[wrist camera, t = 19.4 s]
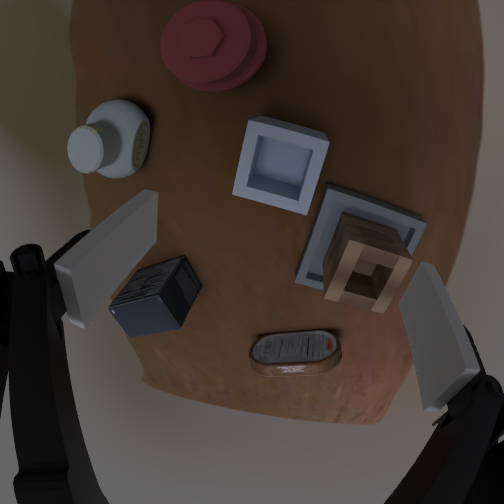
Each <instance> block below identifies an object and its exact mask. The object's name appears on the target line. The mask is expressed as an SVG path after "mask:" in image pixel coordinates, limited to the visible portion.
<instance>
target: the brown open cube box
mask: <svg viewBox="0 0 504 504" xmlns="http://www.w3.org/2000/svg"><path fill="white" fill-rule="evenodd" d="M412 262H413V259H412V257H411V255H410V253H409V251H408V249H407V248H406V246H405V244H404V242H403V240H402V239H401V237H400V235H399V233H398V231H397V230H396V229H393V228H390V227H387V226H385V225H382V224H379V223H376V222H373V221H370V220H367V219H364V218H361V217H358V216H355V215H352V214H349V213H346V212H343V211H342V214H341V216H340V219H339V222H338V224H337V227H336V230H335V232H334V235H333V237H332V240H331V243H330V245H329V248H328V250H327V253H326V255H325V258H324V260H323V263H322V265H323V290H324V299H328V300H332V301H336V302H339V303H343V304H347V305H351V306H354V307H358V308H362V309H366V310H370V311H374V312H377V313H381V314H383V313H384V312H385V310H386V308H387V307H388V305H389V303H390V302H391V300H392V298H393V296H394V295H395V293H396V291H397V289H398V288H399V286H400V284H401V282H402V280H403V279H404V277H405V275H406V273H407V271H408V269H409V268H410V266H411V264H412Z"/></svg>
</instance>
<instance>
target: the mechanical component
mask: <svg viewBox="0 0 504 504" xmlns="http://www.w3.org/2000/svg"><path fill="white" fill-rule="evenodd" d="M160 52H161V56H162V59H163V62H164V63H165V65H166V67H167V68H168V69H169V70H170V71H171V72H172V73H173V74H174V75H175V76H176V77H177V78H178V79H179V80H180V81H181V82H182V83H184V84H185V85H187V86H189V87H191V88H193V89H196V90H200V91H205V92H221V91H227V90H231V89H234V88H236V87H239V86H240V85H242V84H244V83H246V82H247V81H248V80H250V79H251V78H252V77H253V76H254V75H255V74H256V73H257V71H258V70H259V69H260V67H261V66H262V64H263V62H264V59H265V57H266V52H267V36H266V32H265V30H264V27H263V25H262V24H261V22H260V21H259V19H258V18H257V17H256V16H255V14H253V13H252V12H251V11H250V10H248V9H247V8H245V7H244V6H241V5H239V4H236V3H232V2H226V1H221V0H200V1H196V2H193V3H191V4H188V5H186V6H185V7H183V8H181V9H180V10H179V11H177V12H176V13H175V14H174V15H173V16H172V17H171V18H170V20H169V21H168V22H167V24H166V26H165V28H164V29H163V32H162V35H161V40H160Z"/></svg>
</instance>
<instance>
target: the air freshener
mask: <svg viewBox="0 0 504 504" xmlns="http://www.w3.org/2000/svg"><path fill="white" fill-rule="evenodd" d="M149 138H150V123H149V120H148V118H147V116H146V114H145V113H144V112H143V111H142V109H140V108H139V107H138V106H137V105H135V104H134V103H132V102H129V101H127V100H121V99H117V100H110V101H107V102H105V103H103V104H101V105H99V106H98V107H97V108H96V109H95V110H94V111H93V112H92V113H91V114H90V116H89V118H88V120H87V122H86V125H83V126H80V127H78V128H76V129H75V130H74V131H73V132H72V134H71V135H70V138H69V141H68V156H69V159H70V161H71V163H72V165H73V166H74V167H75V168H76V169H77V170H78V171H80V172H81V173H87V174H89V173H92V172H95V171H97V172H98V173H100V174H102V175H104V176H106V177H110V178H123V177H127V176H130V175H131V174H133V173H135V172H136V171H137V170H139V169H140V167H141V166H142V164H143V161H144V159H145V156H146V153H147V149H148V144H149Z"/></svg>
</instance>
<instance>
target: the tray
mask: <svg viewBox="0 0 504 504" xmlns="http://www.w3.org/2000/svg"><path fill="white" fill-rule="evenodd" d="M342 211H343V212H346V213H349V214H352V215H355V216H358V217H361V218H364V219H367V220H370V221H373V222H376V223H379V224H382V225H385V226H387V227H390V228H393V229H396V230H397V231H398V233H399V235H400V237H401V239H402V240H403V242H404V244H405V246H406V248H407V249H408V251H409V253H410V255H411V256H412V254H413V252H414V250H415V248H416V246H417V244H418V242H419V240H420V238H421V236H422V234H423V232H424V229H425V227H426V225H427V223H426V222H425V221H424V219H423V218H422V217H421V216H419V215H417V214H414V213H411V212H409V211H406V210H404V209H401V208H398V207H396V206H393V205H390V204H388V203H385V202H382V201H379V200H377V199H374V198H371V197H368V196H365V195H363V194H360V193H357V192H354V191H351V190H348V189H345V188H342V187H339V186H336V185H332V184H329V183H326V186H325V189H324V192H323V195H322V198H321V201H320V204H319V207H318V210H317V213H316V216H315V219H314V222H313V225H312V228H311V231H310V234H309V236H308V239H307V242H306V245H305V248H304V251H303V253H302V256H301V259H300V262H299V264H298V267H297V270H296V273H295V283H298V284H302V285H306V286H309V287H313V288H316V289H320V290H323V265H322V263H323V260H324V258H325V255H326V253H327V250H328V248H329V245H330V243H331V240H332V237H333V235H334V232H335V230H336V227H337V224H338V222H339V219H340V216H341V214H342Z"/></svg>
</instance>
